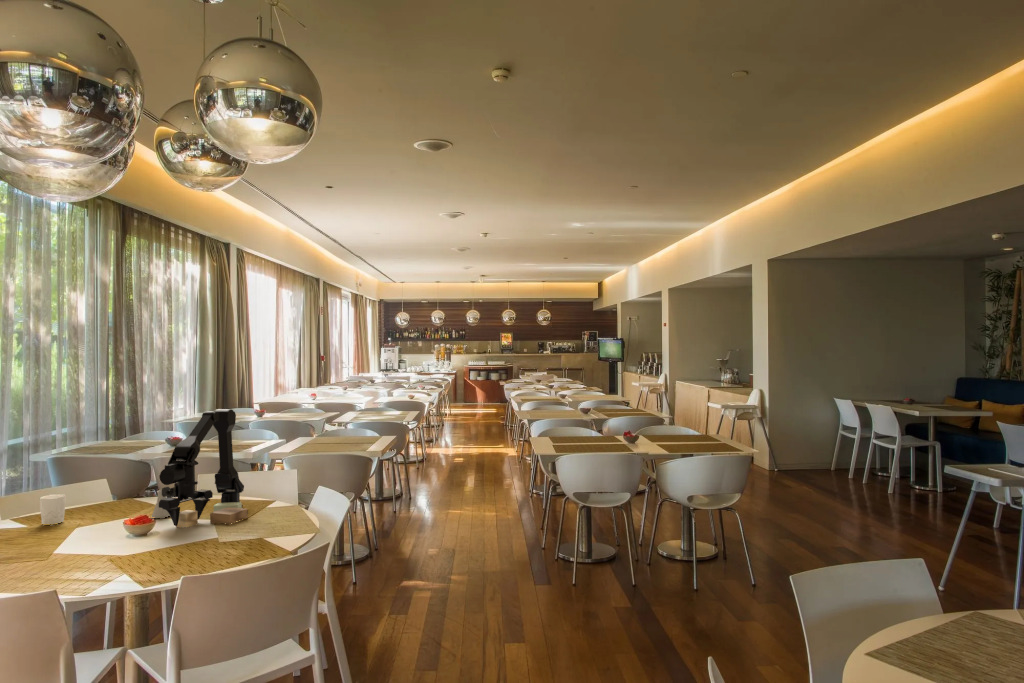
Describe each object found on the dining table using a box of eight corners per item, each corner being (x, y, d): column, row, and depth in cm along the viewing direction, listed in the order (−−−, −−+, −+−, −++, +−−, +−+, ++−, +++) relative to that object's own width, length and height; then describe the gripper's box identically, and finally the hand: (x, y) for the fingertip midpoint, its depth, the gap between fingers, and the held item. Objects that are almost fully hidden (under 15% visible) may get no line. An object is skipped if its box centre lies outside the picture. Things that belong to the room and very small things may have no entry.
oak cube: (187, 523, 243) (187, 509, 243) (197, 524, 241) (197, 510, 241) (175, 527, 238) (175, 513, 238) (185, 528, 236) (185, 514, 236)
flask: (176, 514, 256) (176, 488, 256) (165, 519, 249) (164, 492, 249) (159, 514, 257) (158, 488, 257) (147, 519, 250) (146, 492, 250)
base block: (228, 517, 251) (228, 507, 251) (247, 519, 248) (247, 508, 248) (210, 524, 243) (210, 513, 243) (230, 525, 240) (230, 514, 240)
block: (217, 513, 258) (217, 502, 258) (241, 512, 259) (241, 502, 259) (213, 516, 254) (213, 505, 254) (237, 515, 254) (237, 504, 254)
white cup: (34, 525, 244) (34, 498, 244) (56, 519, 251) (56, 493, 251) (49, 527, 241) (48, 499, 241) (70, 521, 248) (70, 494, 248)
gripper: (191, 473, 252) (192, 514, 251) (147, 482, 234) (147, 527, 234) (213, 475, 247) (213, 517, 247) (169, 485, 230) (170, 530, 230)
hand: (186, 522), depth 240 cm, fingers open, 9 cm apart
